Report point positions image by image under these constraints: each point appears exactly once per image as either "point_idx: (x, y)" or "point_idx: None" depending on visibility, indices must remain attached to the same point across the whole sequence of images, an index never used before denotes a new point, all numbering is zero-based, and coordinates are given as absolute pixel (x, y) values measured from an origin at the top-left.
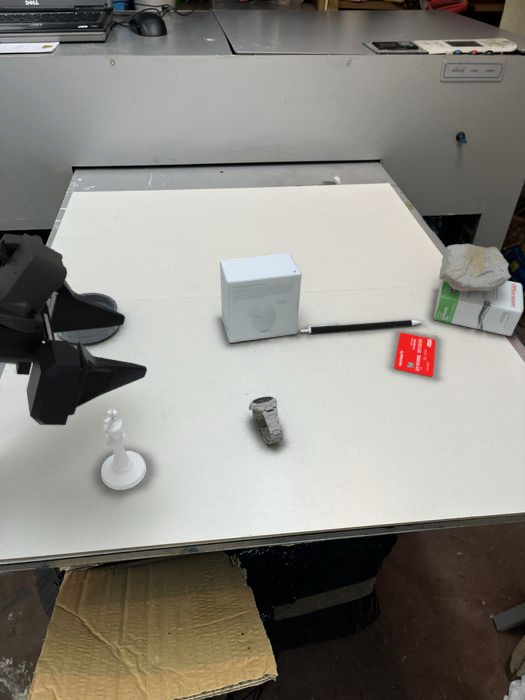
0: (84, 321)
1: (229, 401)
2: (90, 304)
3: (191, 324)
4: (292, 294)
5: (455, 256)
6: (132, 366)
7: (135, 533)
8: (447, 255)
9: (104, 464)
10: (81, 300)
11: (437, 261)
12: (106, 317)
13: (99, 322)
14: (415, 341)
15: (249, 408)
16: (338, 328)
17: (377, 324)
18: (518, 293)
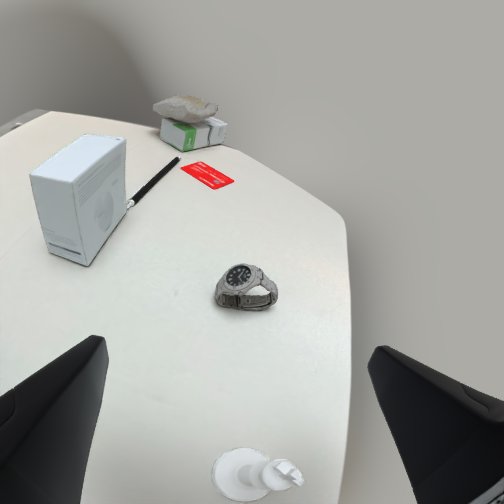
0: (69, 468)
1: (177, 315)
2: (36, 416)
3: (29, 284)
4: (121, 167)
5: (179, 102)
6: (418, 362)
7: (333, 468)
8: (166, 106)
9: (233, 496)
10: (8, 441)
11: (133, 126)
12: (86, 390)
13: (87, 422)
14: (195, 167)
15: (242, 294)
16: (148, 187)
17: (165, 169)
18: (210, 117)
